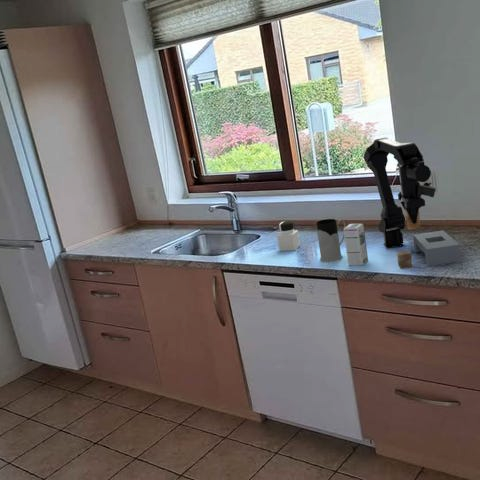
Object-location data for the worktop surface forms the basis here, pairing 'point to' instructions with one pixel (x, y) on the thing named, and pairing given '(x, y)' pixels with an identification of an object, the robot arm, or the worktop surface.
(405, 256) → the short pin
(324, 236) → the grey pitcher
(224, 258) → the worktop surface
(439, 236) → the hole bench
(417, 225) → the long pin
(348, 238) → the syrup box
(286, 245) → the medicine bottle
